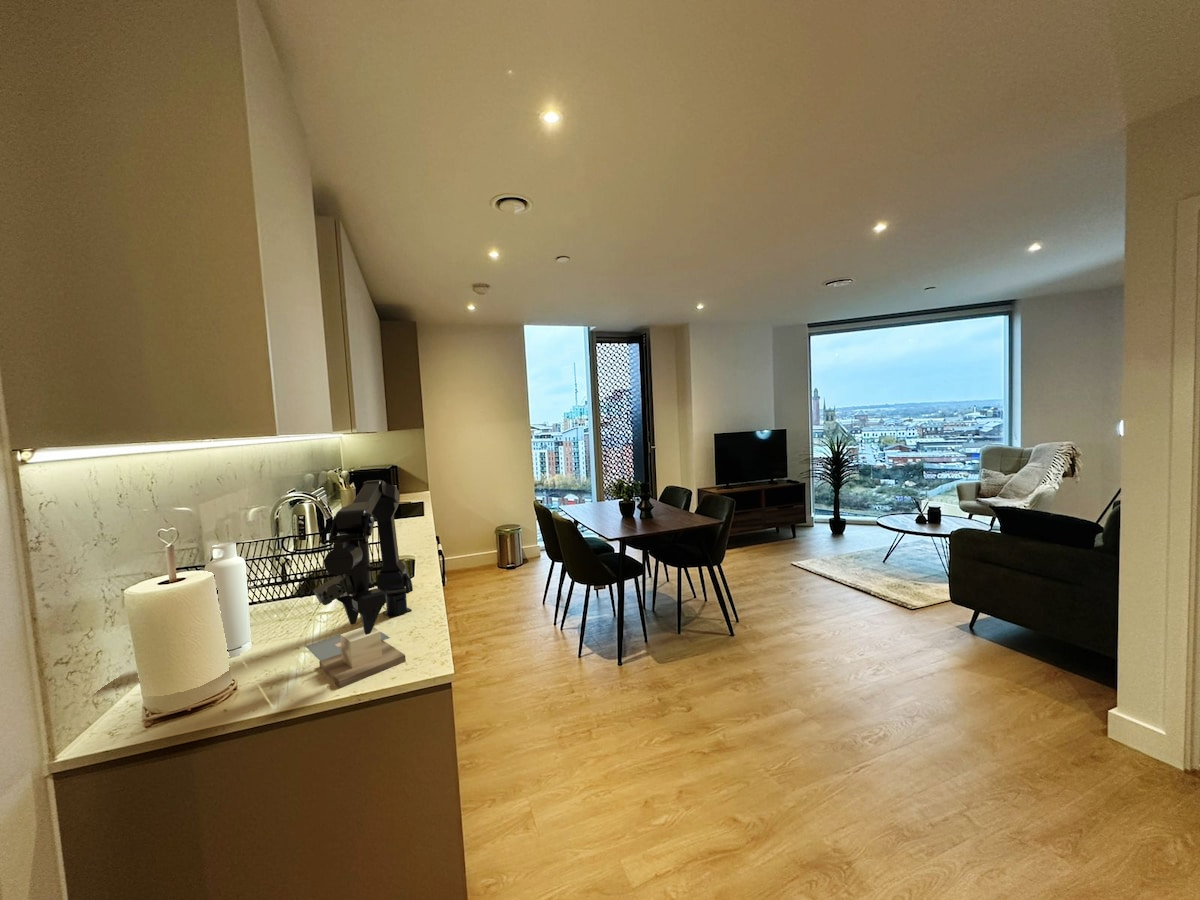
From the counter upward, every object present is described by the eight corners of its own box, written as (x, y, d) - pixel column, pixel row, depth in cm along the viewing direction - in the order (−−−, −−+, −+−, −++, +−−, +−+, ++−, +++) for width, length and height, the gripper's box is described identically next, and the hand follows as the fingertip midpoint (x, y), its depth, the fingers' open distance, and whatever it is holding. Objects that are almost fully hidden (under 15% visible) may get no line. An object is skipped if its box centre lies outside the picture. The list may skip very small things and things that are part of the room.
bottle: (259, 644, 118) (252, 540, 117) (234, 659, 110) (226, 547, 109) (229, 645, 118) (221, 541, 117) (202, 660, 110) (193, 549, 109)
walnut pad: (319, 667, 103) (319, 661, 103) (381, 644, 114) (381, 639, 113) (340, 688, 94) (339, 681, 94) (405, 661, 104) (405, 655, 104)
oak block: (342, 659, 103) (340, 634, 103) (371, 648, 108) (369, 624, 108) (352, 668, 99) (350, 641, 99) (382, 656, 104) (380, 631, 104)
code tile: (305, 646, 115) (304, 645, 115) (369, 625, 126) (369, 624, 126) (321, 663, 105) (321, 662, 105) (390, 638, 117) (390, 637, 117)
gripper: (304, 565, 103) (308, 631, 104) (330, 579, 91) (335, 654, 91) (355, 554, 111) (359, 615, 112) (386, 565, 99) (390, 634, 99)
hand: (360, 628), depth 103 cm, fingers open, 9 cm apart
